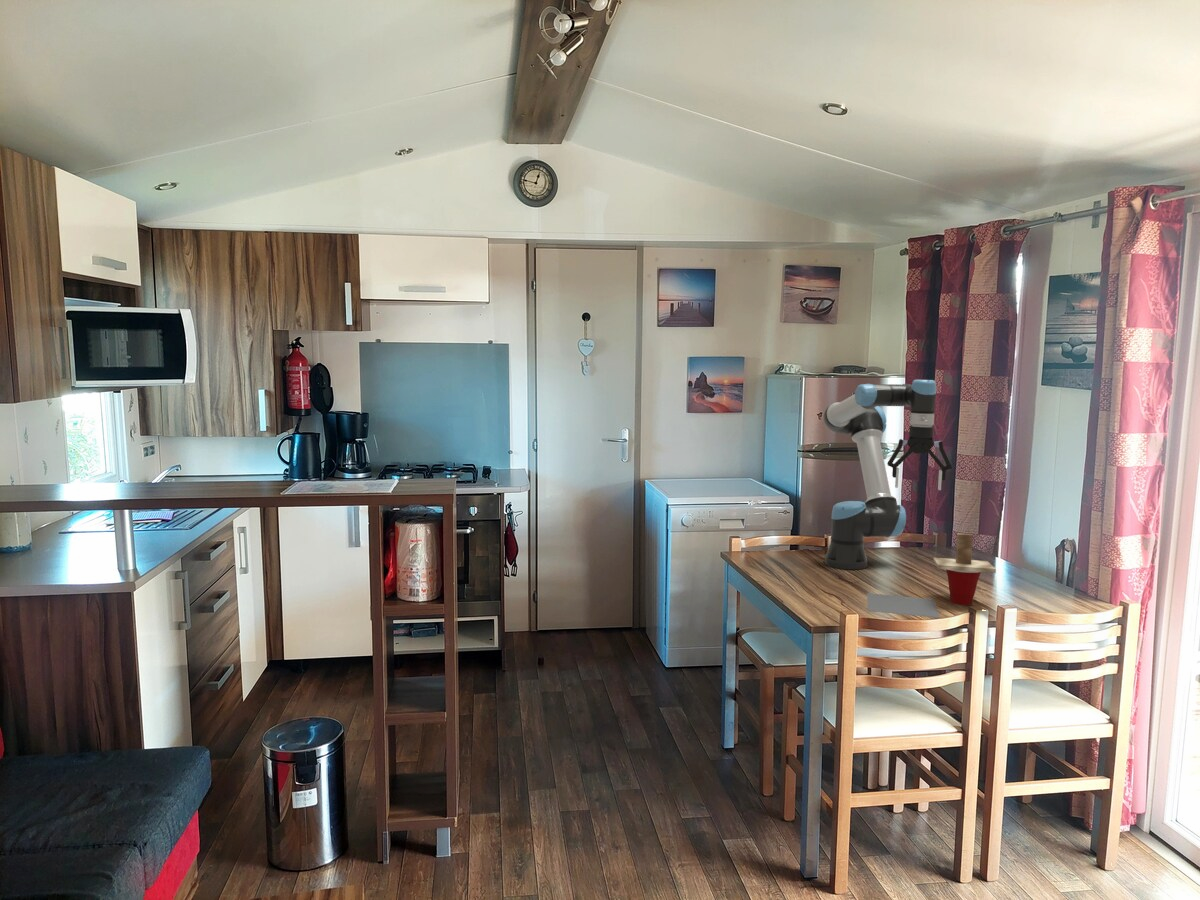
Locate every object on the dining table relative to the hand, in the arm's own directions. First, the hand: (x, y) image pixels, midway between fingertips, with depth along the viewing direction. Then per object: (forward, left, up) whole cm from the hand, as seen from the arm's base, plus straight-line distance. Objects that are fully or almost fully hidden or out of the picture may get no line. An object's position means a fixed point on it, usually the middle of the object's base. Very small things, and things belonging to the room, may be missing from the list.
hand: (917, 488), depth 280 cm
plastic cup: (+13, -22, -33) cm, 42 cm away
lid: (+13, -22, -21) cm, 33 cm away
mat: (-5, -32, -33) cm, 46 cm away
